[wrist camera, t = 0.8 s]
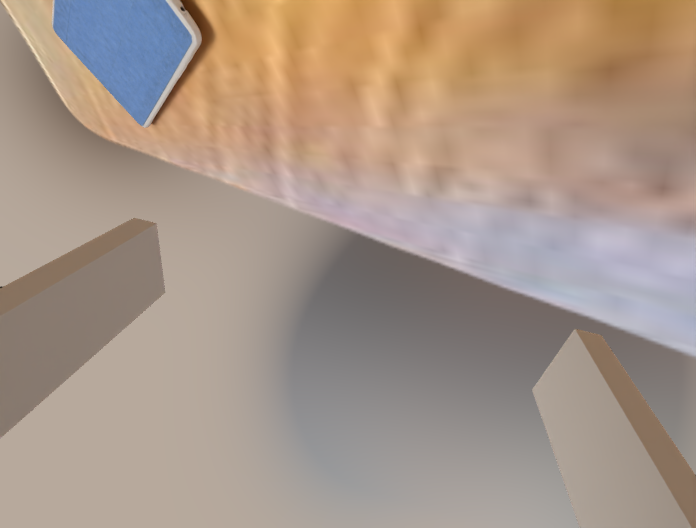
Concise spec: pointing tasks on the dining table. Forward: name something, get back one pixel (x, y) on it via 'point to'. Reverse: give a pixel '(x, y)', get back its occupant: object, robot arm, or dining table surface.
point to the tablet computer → (130, 47)
